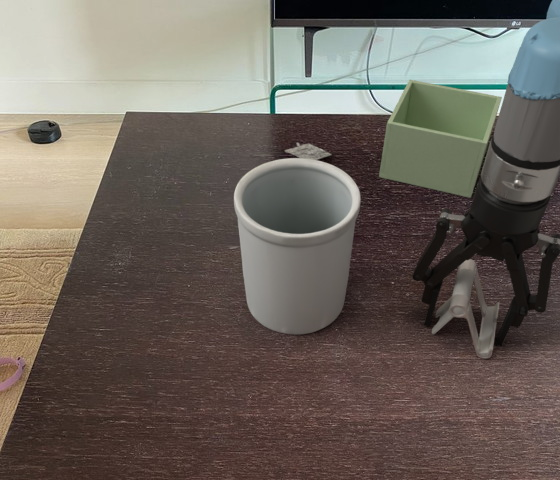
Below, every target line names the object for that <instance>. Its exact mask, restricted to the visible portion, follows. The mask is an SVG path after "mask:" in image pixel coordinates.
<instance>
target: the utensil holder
mask: <svg viewBox="0 0 560 480" xmlns="http://www.w3.org/2000/svg"><path fill="white" fill-rule="evenodd" d="M233 205H234V206H233V207H234V212H235V214H236V217H237V226H238V235H239V246H240V255H241V265H242V266H241V267H242V274H243V275H242V276H243V283H244V291H245V299H246V304H247V308H248V310H249V312H250V314H251V316H252V317H253V318H254V319H255V320H256V321H257V322H258V323H259V324H261V325H262V326H263V327H265V328H267V329H269V330H271V331H273V332H277V333H280V334H284V335H285V334H286V335H296V336H297V335H306V334H312V333H315V332H317V331H320V330H322V329H324V328H326V327H328V326H330V325H331V324H332V323H333V322H334V321H335V320H336V319H337V318H338V317H339V315H340V314H341V312H342V310H343V308H344V305H345V299H346V293H347V288H348V281H349V273H350V266H351V259H352V251H353V245H354V236H355V229H356V228H355V227H356V221H357V218H358V216H359V213H360V210H361V192H360V189H359V186H358V185H357V184H356V181H355V180H354V179H353V178H352V177H351V176H350V175H349V174H348V173H347V172H345V171H344V170H343V169H341V168H339V167H338V166H335V165H333V164H331V163H328V162H324V161H321V160H319V159H318V160H316V159H315V160H314V159H313V160H312V159H304V158H299V157H290V158H280V159H275V160H272V161H268V162H264V163H262V164H260V165H258V166H255V167H254V168H251V170H249V171H247V172H246V173H245V174H244V175H243V176H242V177H241V178H240V179H239V181H238V182H237V184H236V186H235V189H234V193H233Z"/></svg>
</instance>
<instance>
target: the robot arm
mask: <svg viewBox="0 0 560 480" xmlns="http://www.w3.org/2000/svg"><path fill="white" fill-rule="evenodd" d="M506 83H507V85H506V89H505V94H504V96H503V99H502V103H501V106H500V110H499V114H498V116H497V120H496V123H495V127H494V132H493V134H492V136H491V138H490V140H489V144H488V147H487V150H486V154H485V157H484V161H483V166H482V170H481V172H480V178H479V179H478V181H477V185H476V188H475V191H474V194H473V198H472V201H471V204H470V208H469V210H468V211H466V212H465V214H463V215H461V214H455V213H452V210H451V209H449V208H447V207H446V208H442V210H441V211H440V213H439V217H438V219H437V221H436V226H435V231H434V233H433V235H432V237H431V239H430V240H429V242H428V244H427V246H426V247H425V249H424V251H423V252H422V254H421V255H420V258H419V260H418V261H417V263H416V265H415V268H414V271H413V273H412V276H411V278H412V279H413V280H414V281H416V282H422V283H423V284H424V289H423V292H422V296H421V303H422V304H426V305H428V308H427V312H426V315H425V318H424V322H423V326H425V327H430V326H431V323H432V319H433V316H434V312H435V309H436V305H437V304H438V303H437V302H438V298H439V296H440V292H441V289H442V286H443V283H444V280H445V279H446V278H447V277H448V276H450V274H452V273H453V272H454V271H455V270H457V269H458V267H459V266H460V265H461V264H462V263H463V262H464V261H466V260H469V259H472V258H473V257H474V256H475V255H476V256H479V257H482V258H492V259H494V260H496V261H500V262H504V261H505V266H506V270H507V271H508V273H509V277H510V282H511V285H512V290H513V294H514V296H512V298H511V302H510V304H509V306H508V309H507V311H506V313H505V316H504V318H503V320H502V323H501V325H500V327H499V330H498V333H497V338H496V341H495V346H497V347H500V348H502V347H503V344H504V342H505V340H506V338H507V336H508V333H509V331H510V329H511V327H513V328H516V329H518V328H520V327H521V326H522V323H523V321H524V319H525V317H527V316H528V314H529V311H535V312H536V313H539V314H542V313H545V312H546V310H547V306H548V305H547V304H548V297H549V292H550V285H551V278H552V272H553V265H554V263H555V262H556V260H557V259H558V257H559V256H560V233H555V234H552V235H551V236H549V235H547V234H543V233H540V231H541V230H540V224H541V222H542V220H543V218H544V215H545V213H546V211H547V208H548V205H549V203H550V200H551V196H552V194H553V193H554V191H555V188H556V187H557V186H556V185H557V183H558V181H559V178H560V0H551V2H550V4H549V7H548V9H547V12H546V19H543V20H541V21H539V22H537V23H535V24H534V25H532V26H531V27H530V28H529V29H528V31H527V32H526V33H525V35H524V37H523V39H522V42H521V45H520V46H519V48H518V51H517V54H516V56H515V60H514V62H513V65H512V67H511V69H510V71H509V73H508V77H507V82H506ZM459 228H460V229H461V231H462V232H463V235H464V238H463V239H462V241H461V242H460V243H459V244H458V245H457V246H455V247H454V248H453V249H452V250H451V251H450V252H448V254H447V255H446V256H444V257H443V258H442V259H441V260H440V261H439V262H438V263H437V264H435V265H434V266H431V265H432V263H433V262H434V260H435V258H436V257H437V255H438V253H439V252H440V250H441V248H442V246H443V245H444V243H445V242H446V238H447V236H451V235H452V234H454V233H455V232H456V229H459ZM534 246H536V247H537V249H538V250H537V254H538V255H539V257H540V258H541V260H540V261H541V262H540V267H539V275H538V283H537V290H536V294H531V289H530V285H529V279H528V275H527V271H526V270H527V269H526V266H525V261H524V256H523V253H524V252H526V251H527V250H529V249H531V248H533V247H534Z"/></svg>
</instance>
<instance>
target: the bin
mask: <svg viewBox="0 0 560 480" xmlns="http://www.w3.org/2000/svg"><path fill="white" fill-rule="evenodd" d="M502 98H503V97H502V96H500V95H493V94H488V93H482V92H477V91H472V90H468V89H462V88H456V87H451V86H446V85H440V84H435V83H431V82H426V81H425V82H424V81H421V80H413V79H409V80H408V82H407V83H406V86H405V87H404V89H403V91H402V94H401V95H400V97H399V99H398V101H397V103H396V105H395V107H394V109H393V110H392V113H391V115H390V116H389V119H388V120H387V122H386V126H385V127H386V128H385V134H384V141H383V148H382V153H381V160H380V161H381V162H380V167H379V173H378V178H382V179H385V180H390V181H395V182H399V183H403V184H408V185H411V186H412V185H413V186H415V187H420V188H425V189H429V190H434V191H438V192H442V193H446V194H447V193H448V194H451V195H456V196H460V197H465V198H469V199H471V198H472V197H473V193H474V190H475V186H476V183H477V180H478V177H479V174H480V171H481V167H482V164H483V163H484V159H485V156H486V153H487V150H488V147H489V143H490V140H491V137H492V136H491V135H492V132H493V129H494V126H495V121H496V119H497V117H498V116H497V115H498V112H499V109H500V107H501V106H500V105H501V102H502V100H503V99H502Z"/></svg>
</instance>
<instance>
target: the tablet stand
mask: <svg viewBox="0 0 560 480" xmlns="http://www.w3.org/2000/svg"><path fill="white" fill-rule="evenodd" d="M473 286H474V289H475V293H476V296H477V300H478V301H477V302H478V305H479V310H480V314H481V318H482V319H481V323H480V330H479V333H478V329H477V325H476V321H475V316H474V313H473V309H472V305H471V302H470V301H471V295H472V290H473ZM500 303H501V302H496V303H495V305H490V306H489V305H487V303H486V302H485V297H484V293H483V289H482V284H481V280H480V275H479V270H478V267H477V264H476V261H474V260H473V259H472V258H470V259H469V260H466V261H464V262H463V263H462V264H461V265H460V266H459V267H457V272H456V276H455V281H454V286H453V291H452V295H451V297H449V298H448V299H447V300H446V301H445V302H444V303H443V304H442V305H441V306H440V307H438V308H437V309H436V312H435V316H434V318H435V319H438V321H437V323H436V324H435V325H433V327H432V329H431V335H435V334H437V332H439V331H440V330H441V329H442V328H443V327H444V326H445V325H447V324H448V323H449V322H450V321H451V320H452V319H453V318H457V319H459V318H460V319H466V321H467V323H468V328H469V332H470V335H471V339H472V343H473V346H474V351H475V354H476V357H478V358H479V359H482V360H486V359H490V358H491V357H492V355H493V350H494V344H495V337H496V329H497V322H498V318H499V317H498V316H499V310H500Z"/></svg>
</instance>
